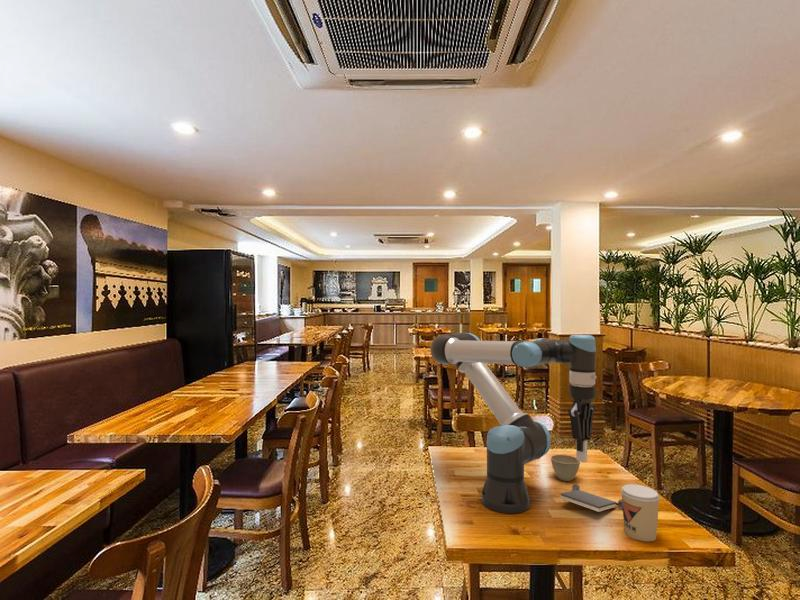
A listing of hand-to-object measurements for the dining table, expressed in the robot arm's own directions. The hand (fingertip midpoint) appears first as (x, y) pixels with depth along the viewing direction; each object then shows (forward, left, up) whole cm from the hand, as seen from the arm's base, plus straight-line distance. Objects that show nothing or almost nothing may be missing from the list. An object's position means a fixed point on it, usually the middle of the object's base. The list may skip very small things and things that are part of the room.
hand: (581, 460), depth 135 cm
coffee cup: (-2, -17, -15) cm, 23 cm away
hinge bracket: (+10, 0, -15) cm, 18 cm away
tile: (+3, 0, -12) cm, 13 cm away
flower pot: (+19, +16, -16) cm, 29 cm away
